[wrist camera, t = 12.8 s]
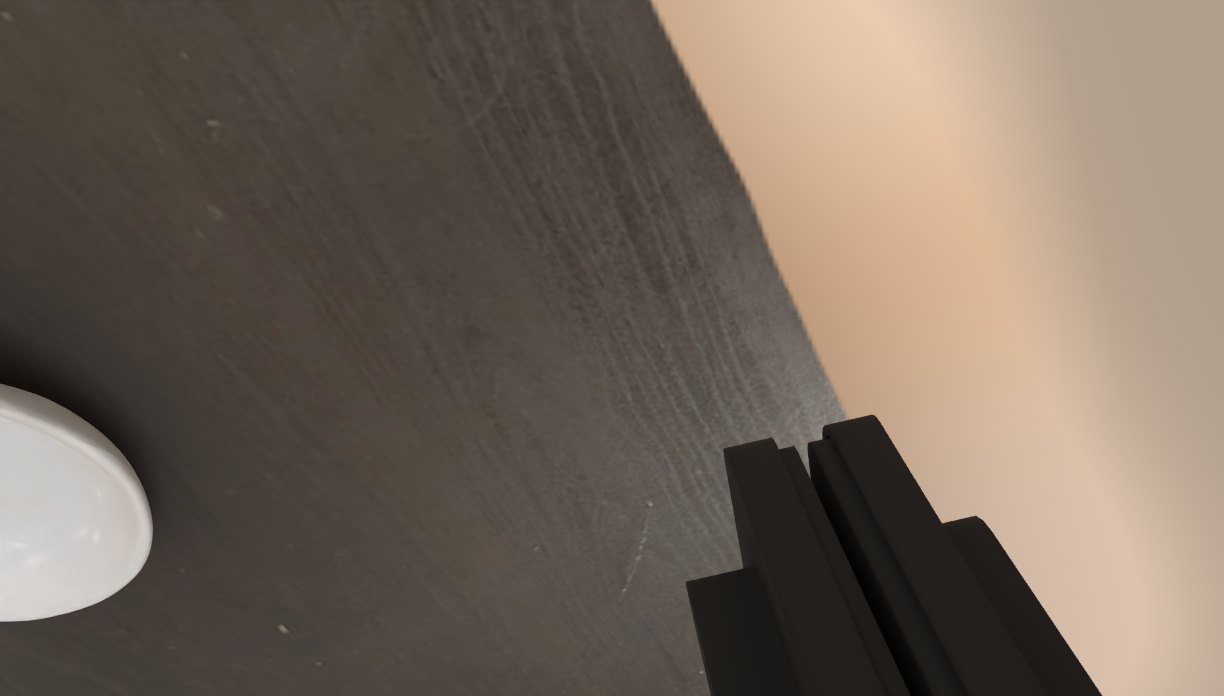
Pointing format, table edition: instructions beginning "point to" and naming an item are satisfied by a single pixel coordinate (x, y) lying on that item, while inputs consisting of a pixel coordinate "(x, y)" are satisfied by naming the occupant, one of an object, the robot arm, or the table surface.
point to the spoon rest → (64, 511)
